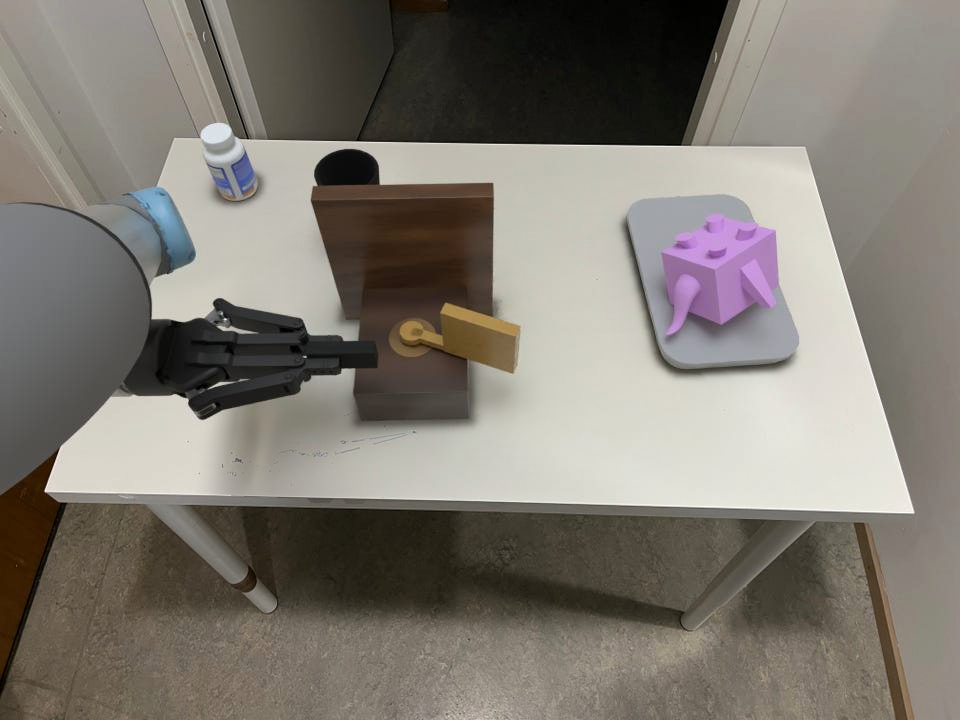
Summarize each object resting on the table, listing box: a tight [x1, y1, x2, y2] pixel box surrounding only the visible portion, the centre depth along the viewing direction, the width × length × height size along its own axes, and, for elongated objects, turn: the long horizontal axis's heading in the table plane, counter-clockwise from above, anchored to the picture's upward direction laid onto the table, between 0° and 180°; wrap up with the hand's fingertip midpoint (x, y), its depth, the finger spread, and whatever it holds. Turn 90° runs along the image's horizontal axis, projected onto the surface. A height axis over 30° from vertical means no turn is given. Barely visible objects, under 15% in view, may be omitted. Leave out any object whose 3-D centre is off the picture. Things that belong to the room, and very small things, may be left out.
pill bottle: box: [200, 122, 259, 202], centre depth 92 cm, size 5×5×10 cm
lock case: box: [310, 182, 495, 422], centre depth 72 cm, size 16×18×20 cm
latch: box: [400, 303, 521, 375], centre depth 71 cm, size 13×3×7 cm, turn 69°
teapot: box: [661, 214, 780, 335], centre depth 77 cm, size 18×13×10 cm
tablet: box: [626, 193, 800, 370], centre depth 85 cm, size 16×26×2 cm, turn 4°
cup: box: [313, 148, 381, 186], centre depth 86 cm, size 8×8×12 cm
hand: (375, 354), depth 67 cm, fingers closed
